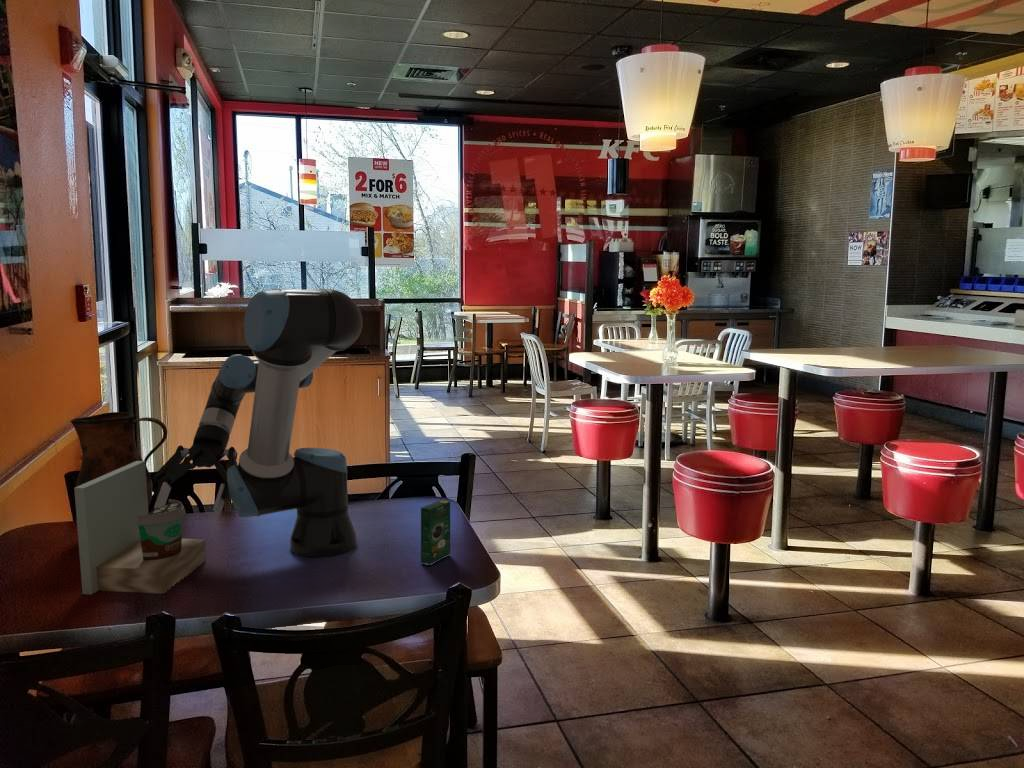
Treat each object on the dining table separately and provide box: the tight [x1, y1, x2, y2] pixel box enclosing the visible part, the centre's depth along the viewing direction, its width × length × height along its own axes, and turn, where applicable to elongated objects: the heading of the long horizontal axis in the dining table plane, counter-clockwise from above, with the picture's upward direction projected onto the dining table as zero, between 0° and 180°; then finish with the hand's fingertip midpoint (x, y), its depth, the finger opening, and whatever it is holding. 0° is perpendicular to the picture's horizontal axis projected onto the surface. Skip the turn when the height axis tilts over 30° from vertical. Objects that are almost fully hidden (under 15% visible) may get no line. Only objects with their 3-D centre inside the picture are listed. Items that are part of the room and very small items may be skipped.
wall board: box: [73, 460, 150, 595], centre depth 169 cm, size 2×22×22 cm, turn 174°
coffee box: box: [420, 499, 451, 564], centre depth 179 cm, size 8×3×13 cm, turn 149°
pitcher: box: [70, 411, 168, 507], centre depth 192 cm, size 17×21×30 cm
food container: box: [136, 498, 186, 560], centre depth 168 cm, size 12×6×10 cm, turn 172°
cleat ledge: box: [96, 538, 207, 594], centre depth 170 cm, size 14×18×5 cm
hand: (187, 511), depth 178 cm, fingers open, 13 cm apart
